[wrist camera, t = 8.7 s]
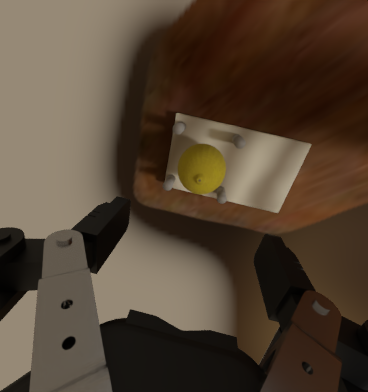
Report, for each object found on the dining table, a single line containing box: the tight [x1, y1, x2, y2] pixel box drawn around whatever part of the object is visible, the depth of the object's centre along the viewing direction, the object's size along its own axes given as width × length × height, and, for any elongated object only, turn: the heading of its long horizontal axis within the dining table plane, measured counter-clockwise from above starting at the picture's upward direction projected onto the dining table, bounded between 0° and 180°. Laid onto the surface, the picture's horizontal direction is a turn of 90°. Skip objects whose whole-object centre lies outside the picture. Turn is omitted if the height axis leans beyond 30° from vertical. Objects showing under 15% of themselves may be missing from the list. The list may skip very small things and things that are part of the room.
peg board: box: [163, 113, 312, 213], centre depth 25 cm, size 17×10×4 cm, turn 78°
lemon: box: [178, 144, 226, 194], centre depth 22 cm, size 6×6×8 cm
